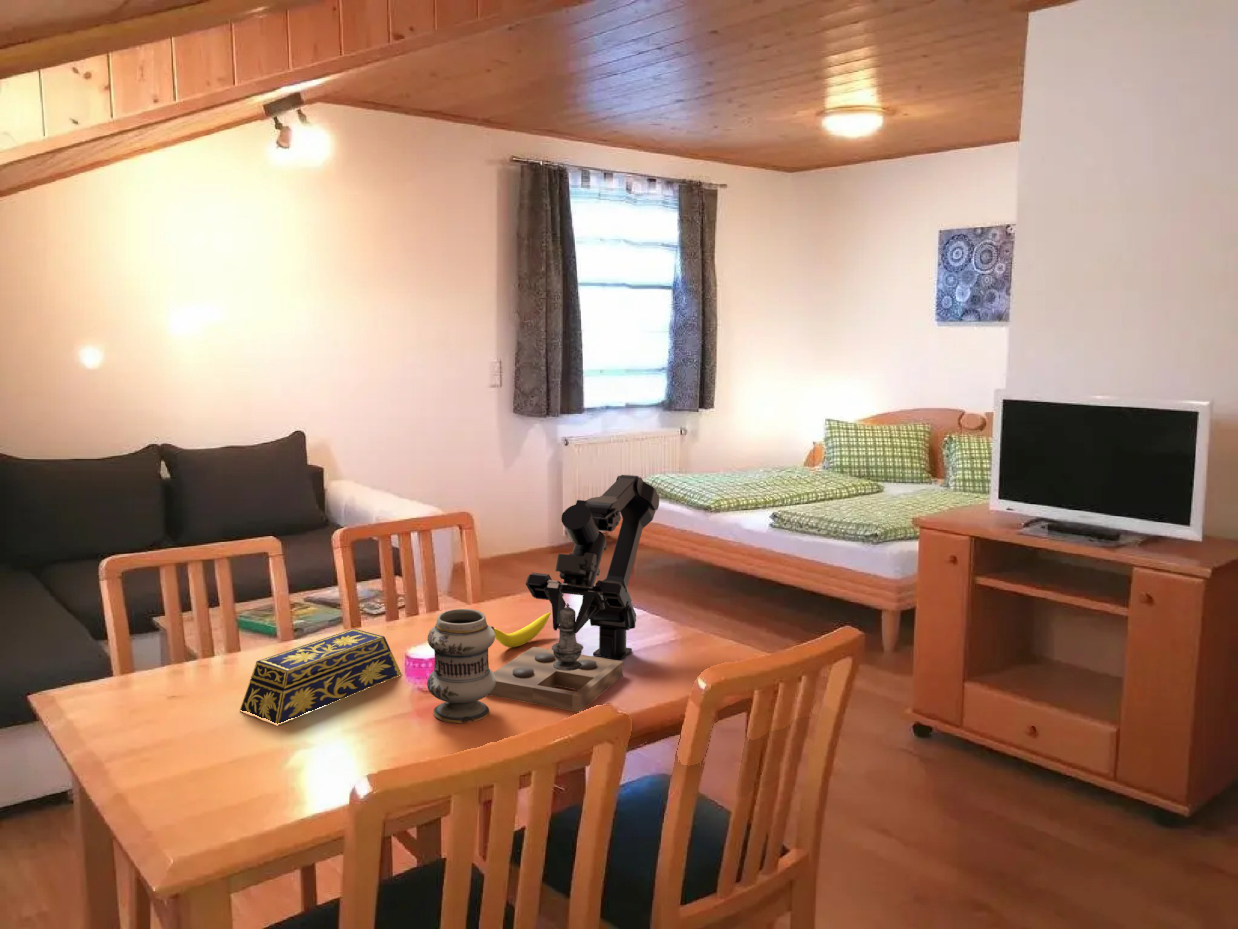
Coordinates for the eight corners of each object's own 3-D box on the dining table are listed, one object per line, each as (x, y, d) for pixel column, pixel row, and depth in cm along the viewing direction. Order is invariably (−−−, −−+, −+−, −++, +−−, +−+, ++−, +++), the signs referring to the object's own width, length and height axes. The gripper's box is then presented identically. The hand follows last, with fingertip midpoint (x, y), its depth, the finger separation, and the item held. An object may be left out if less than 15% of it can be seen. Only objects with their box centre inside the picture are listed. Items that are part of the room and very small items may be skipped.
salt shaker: (572, 673, 180) (572, 610, 178) (545, 667, 183) (545, 604, 181) (589, 663, 185) (589, 601, 183) (562, 657, 188) (562, 596, 186)
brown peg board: (533, 660, 204) (533, 644, 203) (622, 675, 196) (623, 658, 196) (483, 694, 186) (483, 675, 185) (579, 712, 178) (580, 693, 177)
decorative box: (402, 676, 195) (402, 632, 194) (276, 729, 170) (274, 678, 169) (364, 665, 201) (363, 623, 199) (236, 714, 176) (234, 665, 174)
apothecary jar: (439, 731, 169) (438, 629, 166) (419, 706, 180) (417, 610, 177) (505, 719, 175) (505, 620, 172) (482, 695, 185) (482, 602, 182)
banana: (555, 635, 221) (555, 607, 220) (496, 657, 205) (496, 628, 205) (545, 632, 222) (545, 604, 221) (486, 654, 207) (486, 625, 206)
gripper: (529, 531, 187) (504, 604, 178) (623, 539, 181) (602, 615, 173) (545, 561, 196) (523, 632, 187) (635, 570, 190) (616, 644, 181)
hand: (564, 630), depth 182 cm, fingers closed on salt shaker, 4 cm apart
